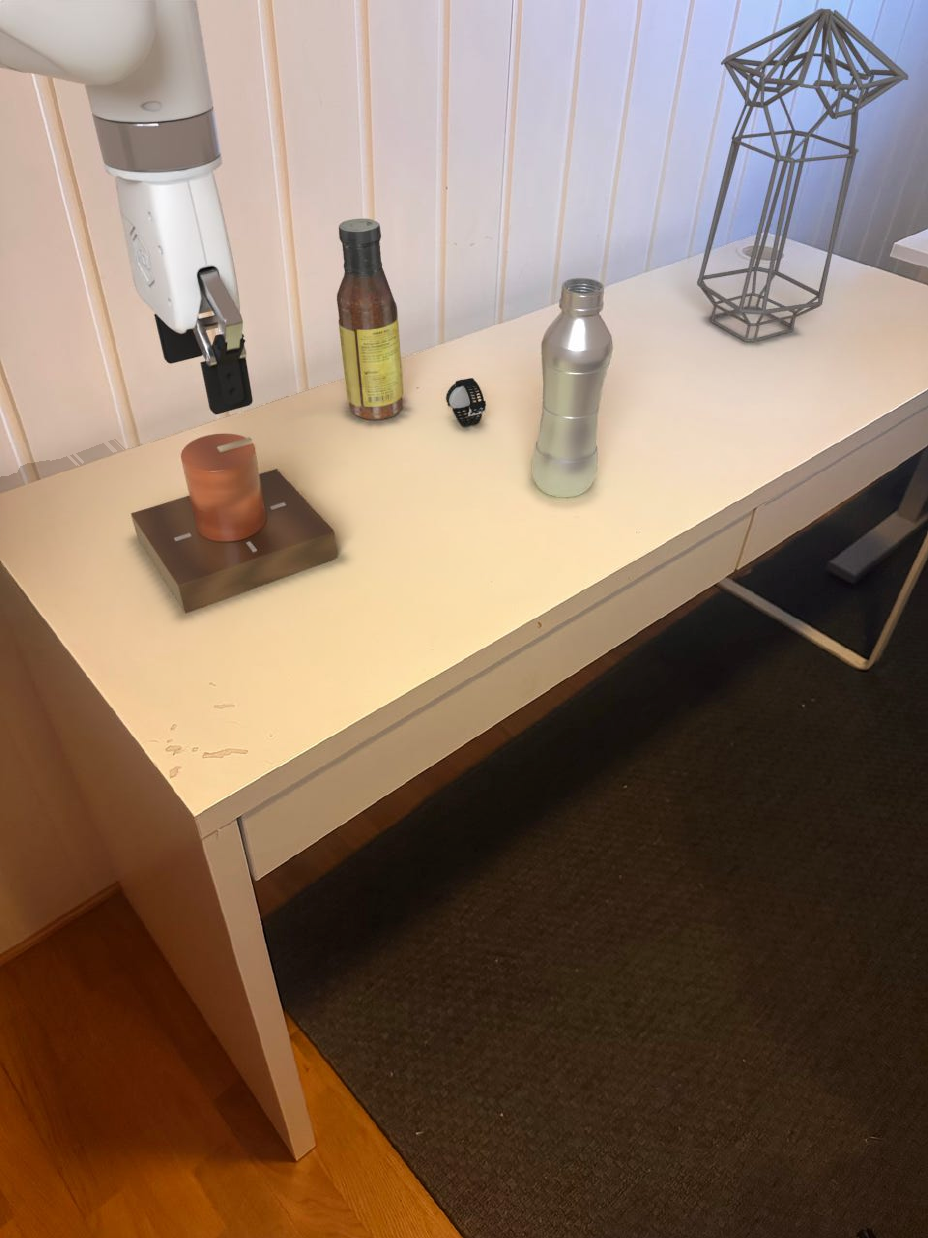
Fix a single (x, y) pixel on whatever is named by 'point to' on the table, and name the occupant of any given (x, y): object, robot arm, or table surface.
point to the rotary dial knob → (224, 486)
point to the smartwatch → (466, 401)
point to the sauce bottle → (368, 325)
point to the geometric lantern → (731, 62)
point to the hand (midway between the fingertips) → (207, 382)
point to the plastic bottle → (572, 391)
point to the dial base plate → (234, 546)
